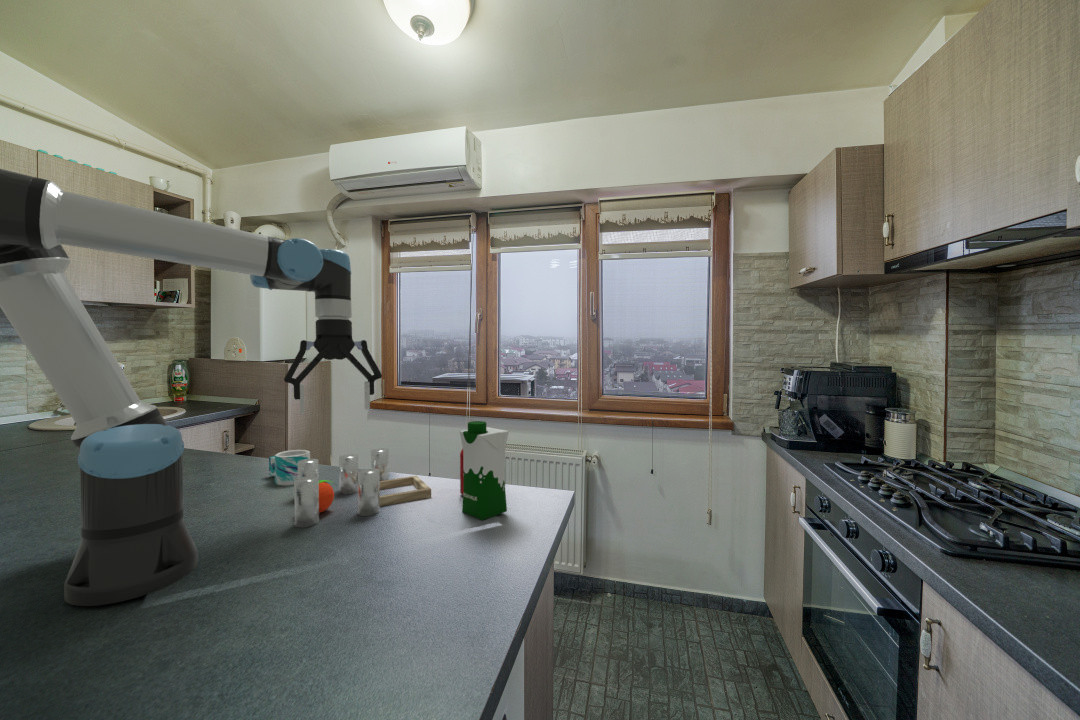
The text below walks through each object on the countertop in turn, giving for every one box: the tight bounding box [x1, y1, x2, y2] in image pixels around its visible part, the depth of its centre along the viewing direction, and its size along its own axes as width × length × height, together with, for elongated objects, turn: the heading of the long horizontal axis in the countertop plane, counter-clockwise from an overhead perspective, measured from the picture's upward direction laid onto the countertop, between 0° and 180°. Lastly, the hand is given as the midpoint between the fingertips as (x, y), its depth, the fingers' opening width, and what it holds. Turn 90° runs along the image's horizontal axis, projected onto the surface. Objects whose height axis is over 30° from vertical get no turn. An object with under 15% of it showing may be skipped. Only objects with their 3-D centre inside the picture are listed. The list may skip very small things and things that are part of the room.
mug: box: [268, 449, 311, 486], centre depth 115 cm, size 8×12×8 cm
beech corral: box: [380, 475, 432, 507], centre depth 106 cm, size 13×13×2 cm
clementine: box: [319, 479, 338, 514], centre depth 94 cm, size 8×7×7 cm
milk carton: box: [459, 420, 509, 521], centre depth 94 cm, size 9×9×20 cm
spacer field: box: [293, 447, 390, 529], centre depth 101 cm, size 24×22×9 cm
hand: (336, 411), depth 99 cm, fingers open, 13 cm apart
